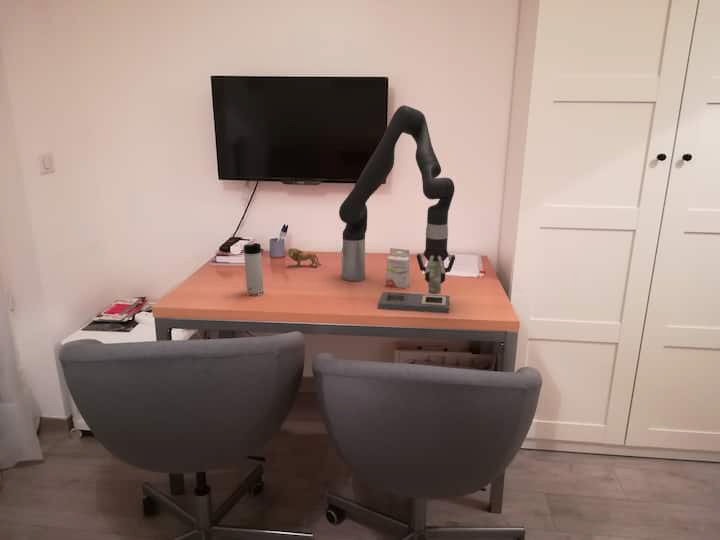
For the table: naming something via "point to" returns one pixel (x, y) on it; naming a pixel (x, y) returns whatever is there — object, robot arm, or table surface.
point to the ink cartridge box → (398, 268)
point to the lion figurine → (302, 257)
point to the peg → (435, 278)
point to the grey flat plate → (415, 302)
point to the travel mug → (253, 269)
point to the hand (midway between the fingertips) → (434, 281)
